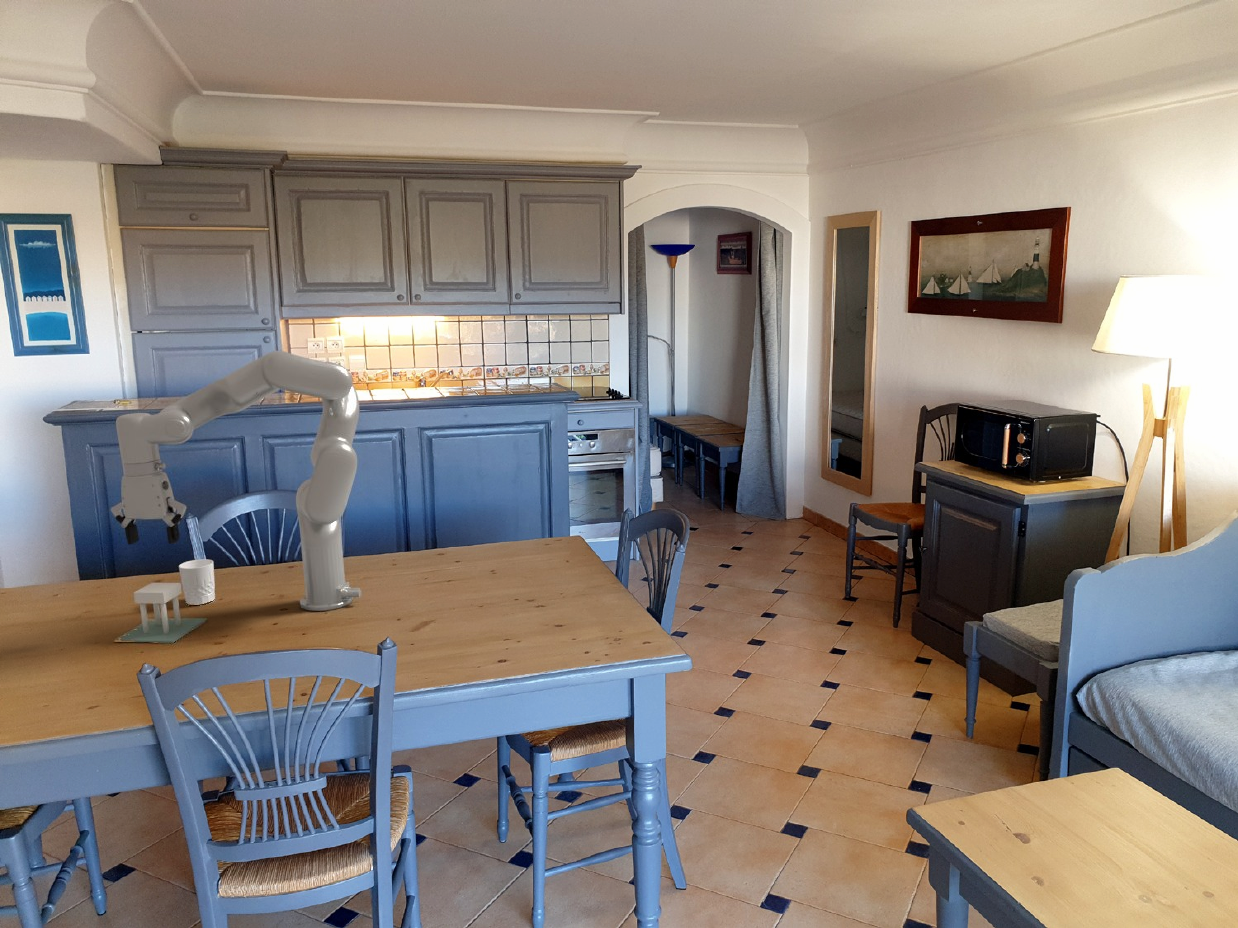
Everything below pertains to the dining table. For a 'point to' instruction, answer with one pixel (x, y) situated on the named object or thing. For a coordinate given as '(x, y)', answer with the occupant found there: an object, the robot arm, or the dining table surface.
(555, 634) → the dining table surface
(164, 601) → the stool
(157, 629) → the mat
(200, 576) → the white cup
